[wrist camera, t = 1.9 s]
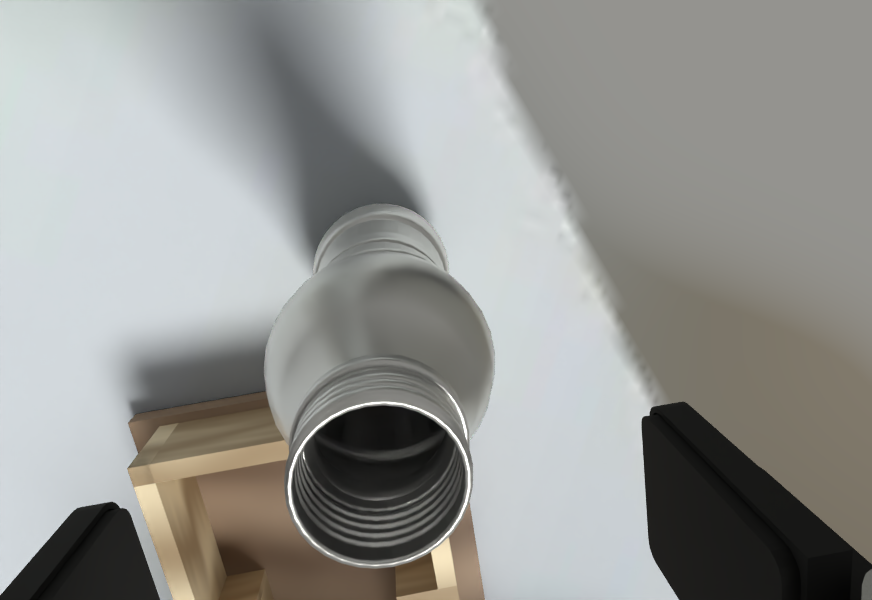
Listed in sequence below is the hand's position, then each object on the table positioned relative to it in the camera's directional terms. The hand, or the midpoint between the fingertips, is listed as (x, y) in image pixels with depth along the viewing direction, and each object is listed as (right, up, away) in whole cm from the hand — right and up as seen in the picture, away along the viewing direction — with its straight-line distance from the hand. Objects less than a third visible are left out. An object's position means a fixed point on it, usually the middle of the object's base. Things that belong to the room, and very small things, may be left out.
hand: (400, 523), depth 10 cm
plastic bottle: (-2, +6, +20) cm, 21 cm away
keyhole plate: (-6, -10, +24) cm, 27 cm away
